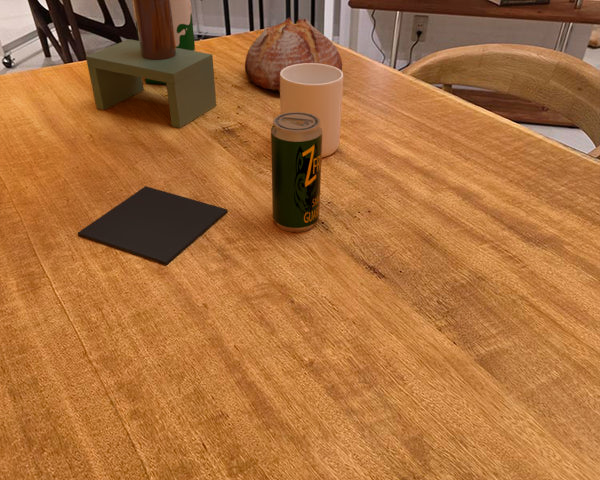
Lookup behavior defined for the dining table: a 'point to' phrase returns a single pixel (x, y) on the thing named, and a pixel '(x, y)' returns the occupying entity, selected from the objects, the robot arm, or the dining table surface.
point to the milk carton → (179, 27)
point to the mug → (315, 98)
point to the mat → (154, 224)
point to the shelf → (173, 71)
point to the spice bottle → (155, 29)
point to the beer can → (296, 170)
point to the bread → (287, 52)
